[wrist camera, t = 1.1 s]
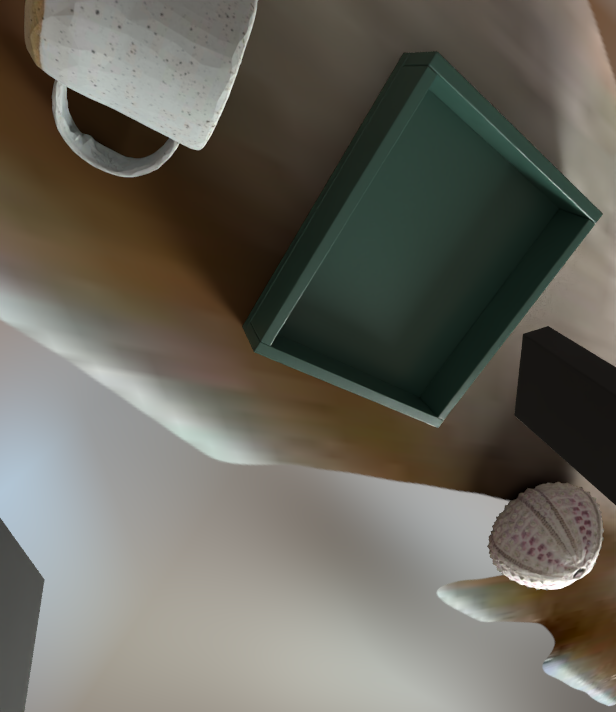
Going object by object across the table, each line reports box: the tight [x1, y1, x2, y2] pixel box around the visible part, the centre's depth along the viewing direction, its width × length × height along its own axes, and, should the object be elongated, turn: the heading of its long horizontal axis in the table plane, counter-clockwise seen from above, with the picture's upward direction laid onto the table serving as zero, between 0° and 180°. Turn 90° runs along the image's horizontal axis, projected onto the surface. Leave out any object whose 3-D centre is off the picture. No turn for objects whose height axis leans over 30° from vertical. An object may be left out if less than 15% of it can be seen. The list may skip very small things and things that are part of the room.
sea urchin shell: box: [487, 482, 604, 590], centre depth 55 cm, size 13×14×8 cm
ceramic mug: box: [24, 0, 258, 177], centre depth 22 cm, size 11×8×8 cm
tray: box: [242, 51, 602, 428], centre depth 35 cm, size 20×18×4 cm
